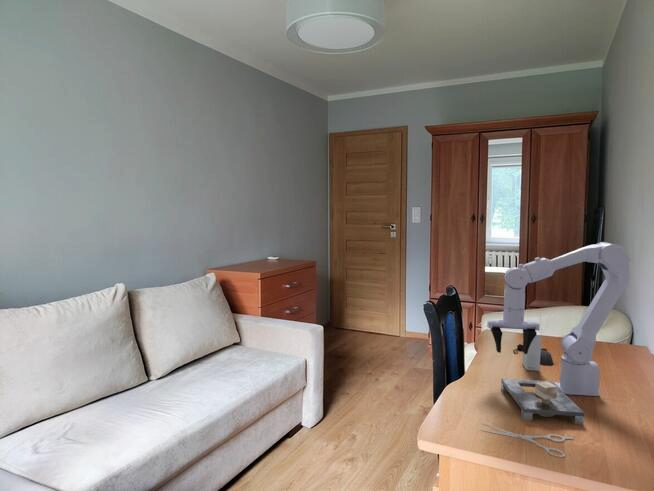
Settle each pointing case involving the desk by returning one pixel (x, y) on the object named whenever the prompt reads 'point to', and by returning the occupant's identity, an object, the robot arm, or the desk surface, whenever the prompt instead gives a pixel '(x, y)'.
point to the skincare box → (533, 354)
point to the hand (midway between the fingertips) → (511, 352)
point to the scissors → (529, 438)
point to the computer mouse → (544, 356)
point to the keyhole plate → (534, 405)
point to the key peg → (546, 393)
